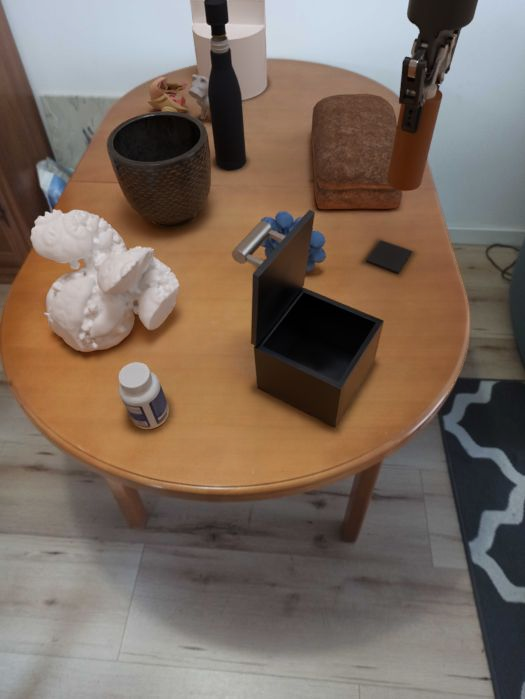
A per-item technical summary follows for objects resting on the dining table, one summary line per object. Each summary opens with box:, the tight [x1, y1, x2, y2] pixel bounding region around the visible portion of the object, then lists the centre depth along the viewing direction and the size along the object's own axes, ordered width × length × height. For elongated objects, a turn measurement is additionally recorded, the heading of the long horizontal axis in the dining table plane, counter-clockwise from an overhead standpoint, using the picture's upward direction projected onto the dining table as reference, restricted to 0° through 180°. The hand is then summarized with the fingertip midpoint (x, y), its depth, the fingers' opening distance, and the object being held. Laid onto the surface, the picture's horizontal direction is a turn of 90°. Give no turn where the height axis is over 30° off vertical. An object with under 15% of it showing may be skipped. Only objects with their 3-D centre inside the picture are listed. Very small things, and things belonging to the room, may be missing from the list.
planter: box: [106, 111, 212, 229], centre depth 92 cm, size 17×17×16 cm
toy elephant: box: [146, 76, 189, 113], centre depth 119 cm, size 9×10×10 cm
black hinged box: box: [253, 286, 385, 429], centre depth 70 cm, size 13×13×10 cm
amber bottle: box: [387, 84, 443, 192], centre depth 70 cm, size 5×5×14 cm
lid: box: [231, 209, 316, 346], centre depth 63 cm, size 13×13×6 cm
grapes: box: [260, 210, 327, 273], centre depth 82 cm, size 12×7×12 cm, turn 80°
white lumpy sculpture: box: [29, 208, 180, 353], centre depth 78 cm, size 19×20×20 cm
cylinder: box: [189, 0, 268, 101], centre depth 118 cm, size 17×17×28 cm
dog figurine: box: [187, 73, 210, 120], centre depth 116 cm, size 5×13×11 cm, turn 144°
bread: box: [311, 93, 403, 210], centre depth 101 cm, size 17×29×11 cm, turn 178°
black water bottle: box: [204, 0, 247, 171], centre depth 96 cm, size 6×6×30 cm
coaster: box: [365, 239, 413, 275], centre depth 88 cm, size 6×6×1 cm
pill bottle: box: [117, 361, 170, 430], centre depth 67 cm, size 5×5×10 cm
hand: (417, 120), depth 68 cm, fingers closed on amber bottle, 5 cm apart
